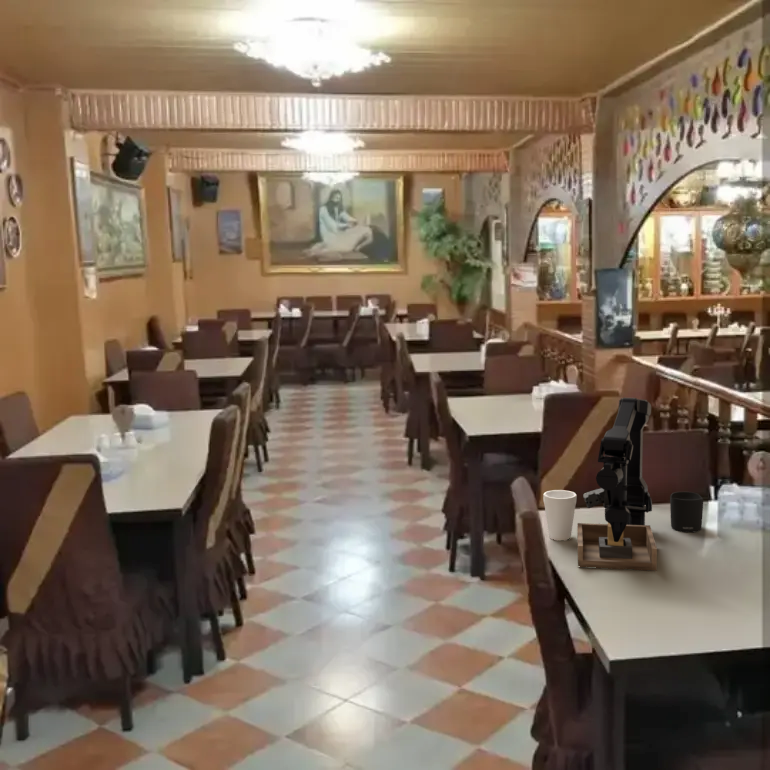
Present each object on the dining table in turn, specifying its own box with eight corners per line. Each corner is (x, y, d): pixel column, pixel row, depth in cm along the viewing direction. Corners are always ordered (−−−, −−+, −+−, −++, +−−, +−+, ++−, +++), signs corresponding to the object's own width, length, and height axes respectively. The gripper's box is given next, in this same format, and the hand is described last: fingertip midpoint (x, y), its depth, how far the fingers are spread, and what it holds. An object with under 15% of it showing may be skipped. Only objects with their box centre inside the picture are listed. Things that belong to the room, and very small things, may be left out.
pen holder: (663, 528, 266) (664, 496, 264) (679, 521, 272) (680, 489, 270) (692, 535, 259) (693, 502, 257) (708, 527, 265) (709, 495, 263)
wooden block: (607, 550, 245) (607, 522, 244) (622, 550, 244) (622, 522, 243) (608, 554, 241) (608, 526, 240) (623, 555, 240) (623, 527, 239)
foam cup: (573, 543, 254) (574, 499, 252) (541, 541, 257) (541, 497, 255) (577, 533, 263) (577, 491, 261) (546, 531, 266) (546, 489, 264)
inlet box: (577, 543, 254) (577, 523, 253) (649, 545, 250) (650, 525, 249) (578, 567, 235) (578, 545, 234) (656, 570, 231) (656, 548, 230)
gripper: (584, 471, 250) (584, 525, 252) (585, 489, 232) (585, 546, 234) (625, 472, 248) (624, 526, 250) (629, 490, 230) (629, 548, 232)
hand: (615, 536), depth 242 cm, fingers open, 9 cm apart
